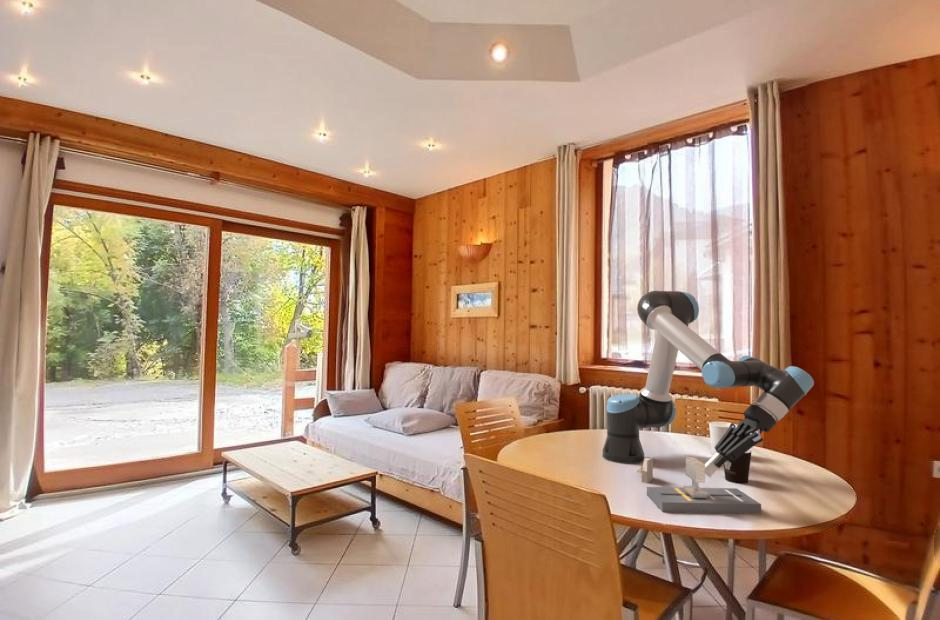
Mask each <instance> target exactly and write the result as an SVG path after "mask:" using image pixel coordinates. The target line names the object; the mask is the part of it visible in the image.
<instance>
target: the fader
mask: <svg viewBox="0 0 940 620" xmlns="http://www.w3.org/2000/svg"><path fill="white" fill-rule="evenodd" d="M705 464H706V463H703V462H702V461H700V460H699V459H697V458H696V457H685V475H686V477H688V479H689V478H690V480H691V485H683V487H684V491H685V492H687V493H688V494H689V495H690V496H691V497H693V498H708V493H706V492H705V491H704V490H702V489H701V488H702V487H700V486H699V483H703V484H705V483H706V473H705Z"/></svg>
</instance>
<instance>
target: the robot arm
mask: <svg viewBox="0 0 940 620" xmlns="http://www.w3.org/2000/svg"><path fill="white" fill-rule="evenodd" d="M699 306H700V305H699V303H698V301H697V300H696V297H694V295H692V294H691V293H690V292H685V291H679V290H675V291H674V290H650V291H649V292H646V293H645V294H643V295H642V296H641V297H640V299H639V301H638V304H637V309H636V310H637V315H638V317H639V319H640V321H641V322H642V323H643V324H644V325H645V326H646V327H648V329H650V330H653V331H654V330H655V331H656V335H655V340H654V343H653V349H652V353H651V359H650V364H649V368H648V371H647V372H648V373H647V377H646V382H645V387H643V388H641V389H640V391H639V395H636V394H629V393H627V394H626V393H624V394H623V393H622V394H615V395H612V396H610V397H609V398H608V399H607V401H606V434H607V435H606V439H605V442H604V444H603V448H602V457H603V459H605V460H608V461H610V462H615V463H620V464H621V463H622V464H637V463H643V462H644V458H645V451H644V448H643V446H642V443H641V440H640V430H641V429H652V428H655V429H657V428H658V429H659V428H663V427H667V426H669V425H670V424H672V422H673V421H674V419H675V417H676V407H675V403H674V401H673V397H672V395H671V394H670V389H671V385H672V381H673V375H674V372H675V366H676V363H677V362H676V361H677V357H678V353H679V352H680V353H681V354H682V355H684V356H685V358H687V359H688V360H689V361H690V362H691V363H693V365H695V366H696V367H697V368H698V369H699V370H701V377H702V378H703V381H704V384H706V385H707V386H709V387H710V388H711V387H712V388H718V389H727V388H738V387H743V388H744V387H755V388H757V389H759V390H762V391H763V392H762V393H760V395H759V396H758V397H756V399H755V400H754V401H753V404H750V405H749V406H748V407H747V408H746V409H745V410H744V411H743V417H744V419H742V420H740V421H739V423H738V424H736V425H734V424H735V423H733V422H730V423H731V424H730V426H729V428H728V430H727V431H726V433H725V434H724V435H723V437H722V438H721V439H720V441H719V442H718V443H717V445H716V446H715V449H716V453H715V454H714V455H712V457H710V458H709V460H707V461H706V462H705V463H704V464H705V475H707V476H708V477H709V478H710V477H712V476H713V475H714V474H716V472H717V471H718V470H719V469H720V468H721V467H722V466H723V464H724V463H725V462H726V461H729V460H732V461H735V460H736V459H737V458H739V457H740V456H741V455H743V454H744V453H745V452H746V451H748V450H751V449H752V448H753V447H755V445H758V444H759V443H761V442H762V443H763V441H764V438H763V437H762V436H761V434H762V433H763V432H765V433H768V432H770V431H771V430H772V429H773V428H774V427H775V425H777V422H779V421H780V420H781V419H783V418H784V417H785V415H787V414H788V413H789V411H790V410H791V409H792V408H793V407H794V406H796V404H797V403H798V402H799V401H800V400H802V398H803V397H804V396H807V393H809V391H810V390H811V389H812V388H813V387H814V384H815V381H814V379H813V377H812V376H811V375H810V374H809V373H808V372H807V371H805V370H804V369H802V368H800V367H797V366H794V365H790V366H788V367H786V368H785V369H784V370H782V369H780V368H778V367H775V366H773V365H772V364H769V363H767V362H765V361H763V360H761V359H759V358H757V357H753V356H750V355H743V356H742V357H739V358H738V359H736V360H730V359H729V358H727V357H726V355H723V354H722V353H720V351H718V350H717V349H716V348H714V347H713V346H712V345H711V344H710V343H708V342H707V341H706V340H705V339H704V338H702V337H701V336H700V335H698V333H696V332H695V331H694V330H693V329H691V328H690V327H689V324H691V323H694V322H695V321H696V320H697V319H698V317H699V312H700V308H699Z"/></svg>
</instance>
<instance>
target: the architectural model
mask: <svg viewBox="0 0 940 620" xmlns="http://www.w3.org/2000/svg"><path fill="white" fill-rule="evenodd" d="M653 459H654V457H653V456H651V457H644V461H642V463H643V464H642V466H641V467H640V468H638V469H637V470H636V473H641V483H645V484H648V483H650V482H651V481H652V480H653V479H654V477H653V476H654V475H653V474H654V473H653V472H654V469H653V468H654V467H653V464H654V461H653Z"/></svg>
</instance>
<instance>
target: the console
mask: <svg viewBox="0 0 940 620" xmlns="http://www.w3.org/2000/svg"><path fill="white" fill-rule="evenodd" d="M700 488H701V489H702V490H704V491H705V492H706V493H708V498H693V497H691V496H690V495H689V494H688V493H687V492H685V491H684V486H683V487H682V486H681V487H679V486H677V487H675V486H674V487H672V486H669V487H668V486H646V496H647V498H649V500H651V501H652V503H654V505H656V507H657V508H658V509H659V510H660V511H661V512H662V513H700V514H702V513H705V514H707V513H709V514H713V513H714V514H754V515H755V514H756V515H757V514H759V515H761V514H762V504H761V503H760V501H759V502H758V501H757V500H755V499H754V498H752V497H751V496H749V495H748V494H746V493H745V492H743V491H741V490H740V489H739V488H735V487H734V488H733V487H732V488H730V487H729V488H728V487H722V488H721V487H700Z"/></svg>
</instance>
